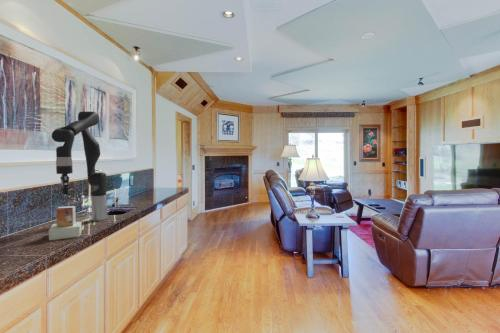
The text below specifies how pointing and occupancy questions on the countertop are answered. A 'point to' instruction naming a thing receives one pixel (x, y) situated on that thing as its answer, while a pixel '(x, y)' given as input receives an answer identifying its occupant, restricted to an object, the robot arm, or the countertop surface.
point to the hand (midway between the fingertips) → (65, 193)
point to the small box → (66, 216)
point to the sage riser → (65, 231)
